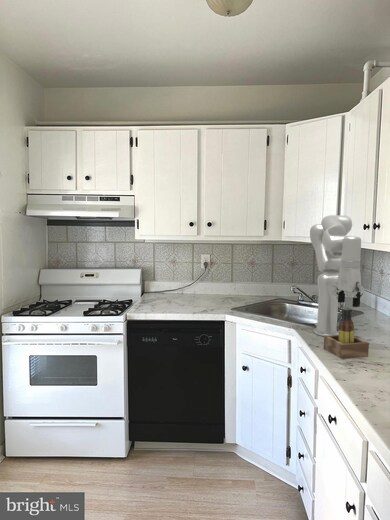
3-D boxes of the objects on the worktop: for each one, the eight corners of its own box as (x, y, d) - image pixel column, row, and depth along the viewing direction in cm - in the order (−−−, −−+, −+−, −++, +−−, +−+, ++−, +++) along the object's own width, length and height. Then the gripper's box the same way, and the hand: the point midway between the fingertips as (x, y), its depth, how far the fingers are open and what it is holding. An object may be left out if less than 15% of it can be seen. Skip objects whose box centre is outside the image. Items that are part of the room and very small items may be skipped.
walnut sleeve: (323, 348, 167) (324, 335, 167) (348, 346, 171) (349, 334, 170) (341, 359, 155) (342, 345, 154) (368, 356, 158) (369, 343, 158)
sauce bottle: (349, 350, 166) (351, 306, 164) (355, 355, 160) (358, 310, 158) (335, 350, 166) (337, 306, 164) (340, 355, 160) (343, 310, 158)
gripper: (330, 263, 166) (328, 301, 168) (356, 267, 150) (354, 309, 151) (344, 263, 168) (343, 300, 169) (372, 267, 151) (369, 308, 153)
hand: (348, 304), depth 160 cm, fingers open, 9 cm apart
